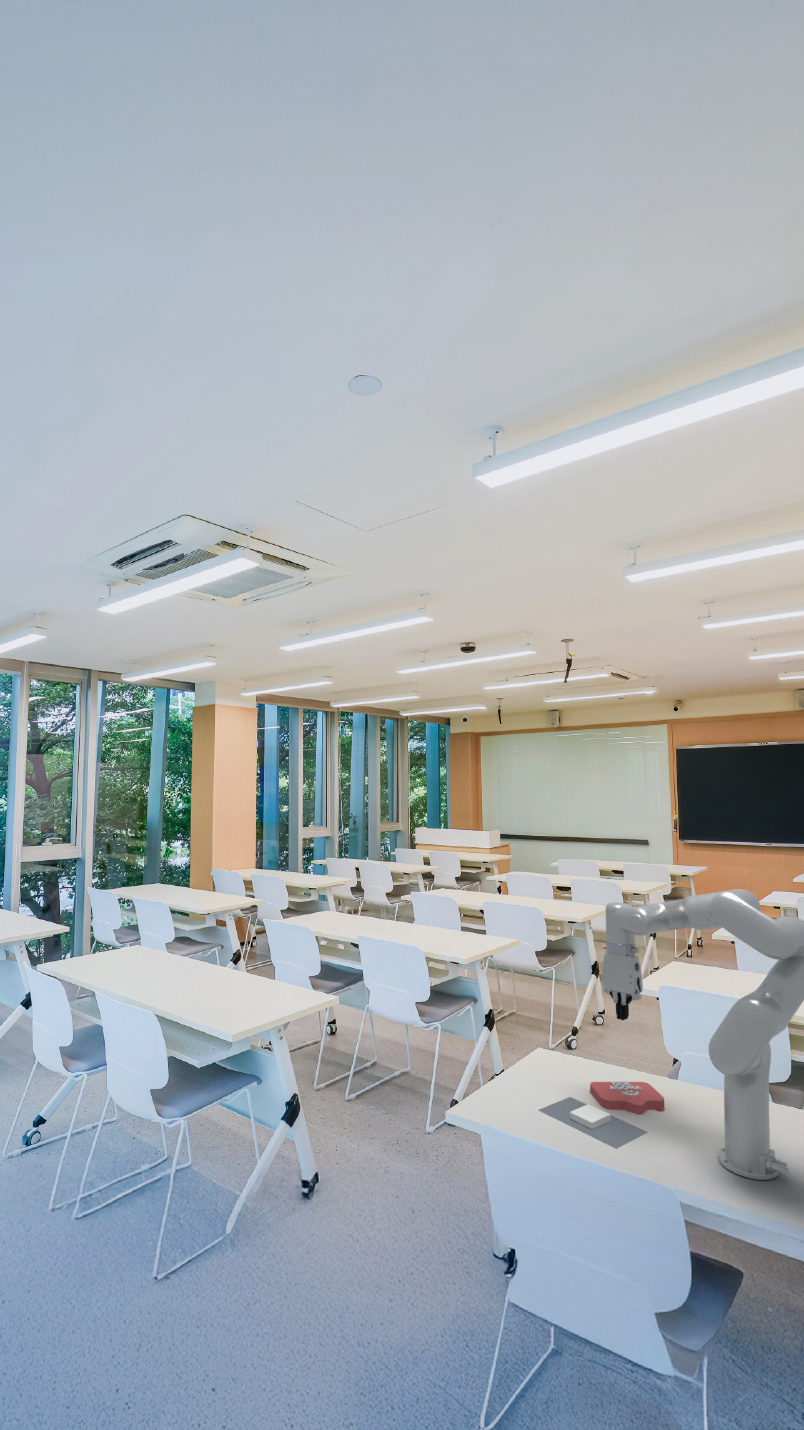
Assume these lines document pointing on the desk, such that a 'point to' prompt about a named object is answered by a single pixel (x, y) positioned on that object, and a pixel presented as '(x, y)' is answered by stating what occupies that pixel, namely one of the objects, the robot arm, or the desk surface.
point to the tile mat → (608, 1133)
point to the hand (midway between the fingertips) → (622, 1018)
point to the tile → (590, 1116)
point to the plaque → (627, 1096)
